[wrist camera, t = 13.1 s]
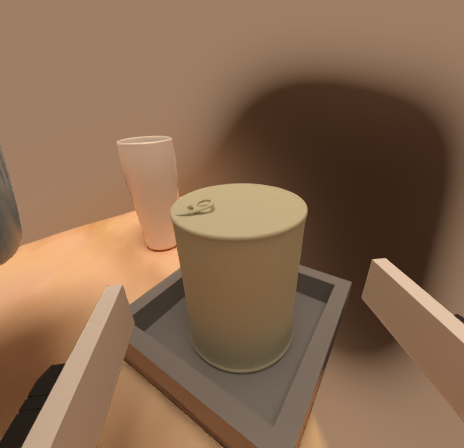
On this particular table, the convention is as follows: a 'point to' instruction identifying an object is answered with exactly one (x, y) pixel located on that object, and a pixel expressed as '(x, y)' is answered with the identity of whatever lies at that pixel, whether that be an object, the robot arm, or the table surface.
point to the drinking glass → (151, 185)
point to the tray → (233, 384)
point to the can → (240, 271)
